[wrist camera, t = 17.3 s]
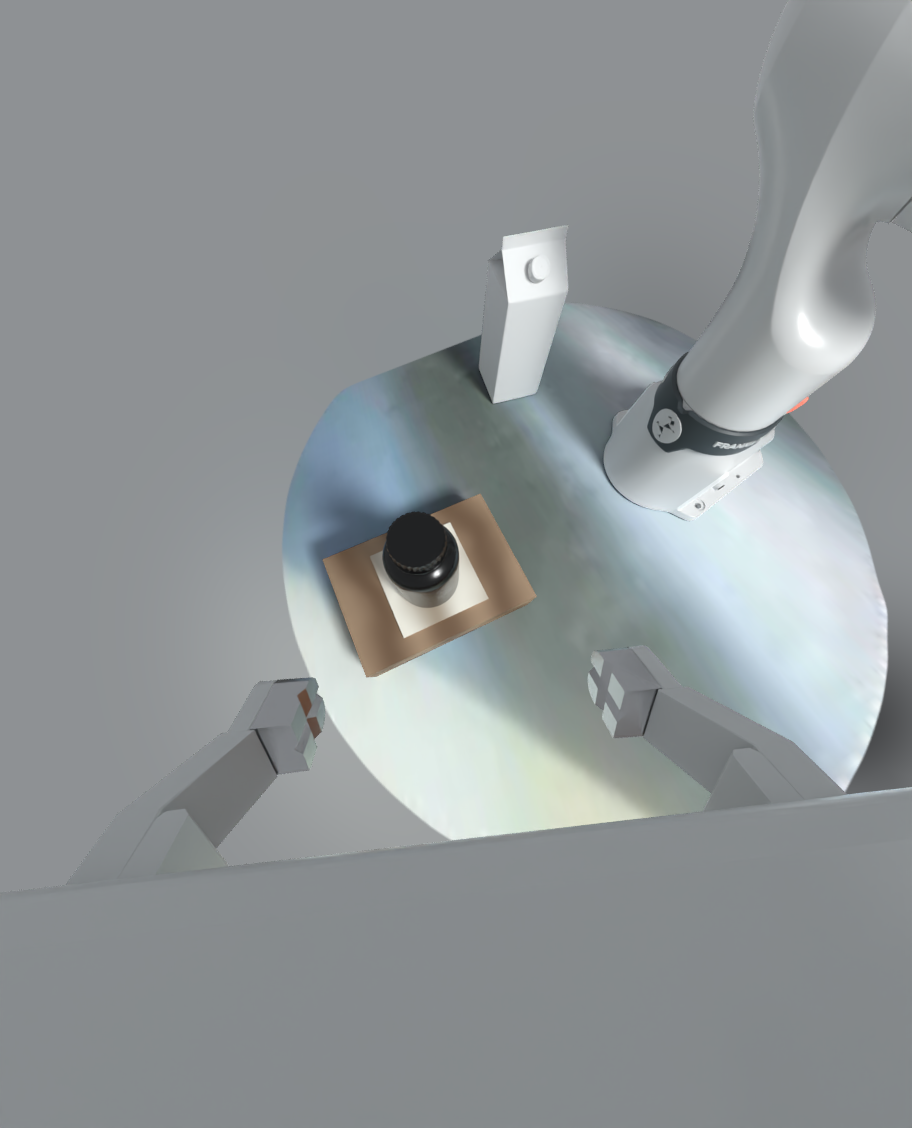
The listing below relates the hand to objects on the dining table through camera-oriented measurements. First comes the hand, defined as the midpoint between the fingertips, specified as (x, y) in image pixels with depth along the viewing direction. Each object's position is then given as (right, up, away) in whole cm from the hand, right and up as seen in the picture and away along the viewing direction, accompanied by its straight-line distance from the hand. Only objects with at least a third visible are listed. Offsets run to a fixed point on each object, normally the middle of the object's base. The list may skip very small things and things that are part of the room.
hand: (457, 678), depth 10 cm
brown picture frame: (-3, 0, +33) cm, 33 cm away
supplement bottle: (-3, +2, +28) cm, 28 cm away
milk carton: (+8, +32, +43) cm, 54 cm away
